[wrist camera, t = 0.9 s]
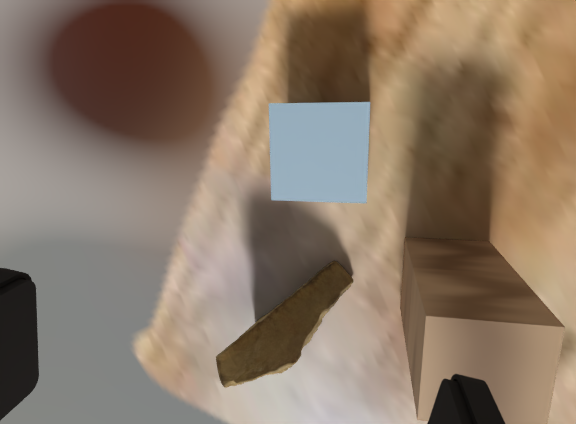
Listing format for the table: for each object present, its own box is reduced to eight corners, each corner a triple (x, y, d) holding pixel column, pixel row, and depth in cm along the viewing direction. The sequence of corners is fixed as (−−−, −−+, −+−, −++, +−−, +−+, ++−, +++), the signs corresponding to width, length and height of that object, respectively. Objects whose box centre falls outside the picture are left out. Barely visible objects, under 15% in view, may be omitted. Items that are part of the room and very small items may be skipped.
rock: (335, 230, 29) (210, 270, 30) (369, 342, 23) (213, 385, 25) (360, 297, 37) (260, 327, 38) (390, 393, 31) (271, 423, 33)
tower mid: (518, 274, 24) (564, 327, 18) (505, 361, 25) (545, 436, 20) (413, 267, 25) (425, 316, 19) (407, 352, 26) (417, 419, 21)
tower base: (489, 241, 29) (518, 274, 24) (480, 314, 31) (505, 361, 25) (404, 237, 31) (413, 267, 25) (400, 308, 32) (406, 352, 26)
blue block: (370, 102, 29) (370, 101, 23) (367, 184, 30) (366, 203, 24) (288, 103, 30) (268, 103, 24) (289, 182, 31) (271, 200, 26)
